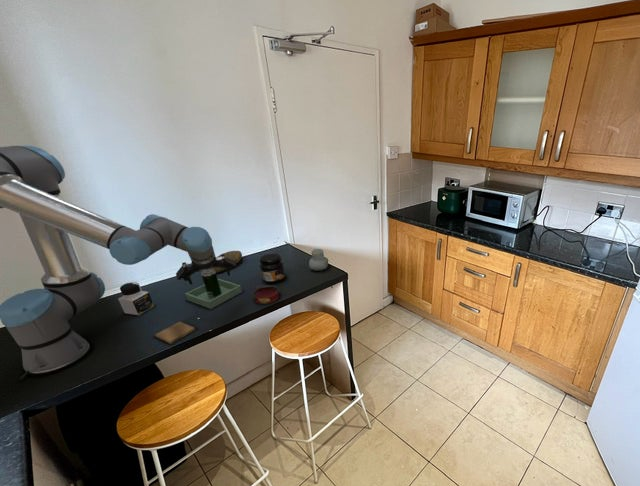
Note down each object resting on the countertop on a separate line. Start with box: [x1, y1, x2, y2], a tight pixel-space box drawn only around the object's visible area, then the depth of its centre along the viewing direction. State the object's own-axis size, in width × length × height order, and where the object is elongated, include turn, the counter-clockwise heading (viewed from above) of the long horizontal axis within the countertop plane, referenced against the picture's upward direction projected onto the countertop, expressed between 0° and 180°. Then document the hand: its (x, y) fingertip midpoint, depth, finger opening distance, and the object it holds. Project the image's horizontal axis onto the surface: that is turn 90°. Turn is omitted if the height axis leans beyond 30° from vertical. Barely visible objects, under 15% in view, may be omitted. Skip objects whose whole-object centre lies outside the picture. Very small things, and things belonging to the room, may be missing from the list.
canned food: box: [251, 284, 280, 305], centre depth 136 cm, size 11×10×10 cm
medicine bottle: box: [117, 281, 155, 316], centre depth 126 cm, size 7×7×12 cm
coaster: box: [154, 321, 196, 344], centre depth 115 cm, size 9×9×1 cm
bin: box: [184, 277, 243, 310], centre depth 138 cm, size 16×16×3 cm
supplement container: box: [258, 252, 286, 285], centre depth 150 cm, size 10×10×12 cm
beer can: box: [200, 269, 221, 298], centre depth 136 cm, size 5×5×12 cm
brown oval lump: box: [209, 250, 243, 274], centre depth 165 cm, size 13×8×20 cm
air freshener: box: [308, 248, 329, 272], centre depth 161 cm, size 11×8×10 cm
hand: (209, 276), depth 128 cm, fingers open, 13 cm apart
